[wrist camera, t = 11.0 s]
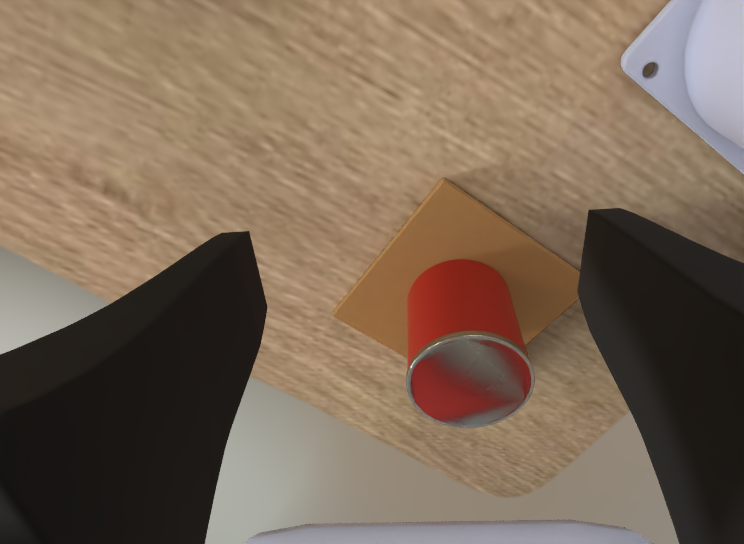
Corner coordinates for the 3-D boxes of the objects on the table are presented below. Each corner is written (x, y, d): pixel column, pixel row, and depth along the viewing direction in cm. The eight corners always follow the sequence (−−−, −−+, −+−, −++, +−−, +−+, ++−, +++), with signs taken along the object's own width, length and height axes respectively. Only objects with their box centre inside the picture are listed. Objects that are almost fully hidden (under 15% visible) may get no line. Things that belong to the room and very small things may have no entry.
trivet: (592, 279, 23) (595, 284, 22) (469, 388, 26) (470, 394, 26) (443, 176, 20) (444, 180, 20) (333, 310, 24) (332, 316, 24)
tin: (533, 293, 23) (562, 376, 18) (464, 356, 25) (477, 444, 21) (450, 238, 21) (461, 314, 17) (386, 310, 24) (381, 393, 19)
